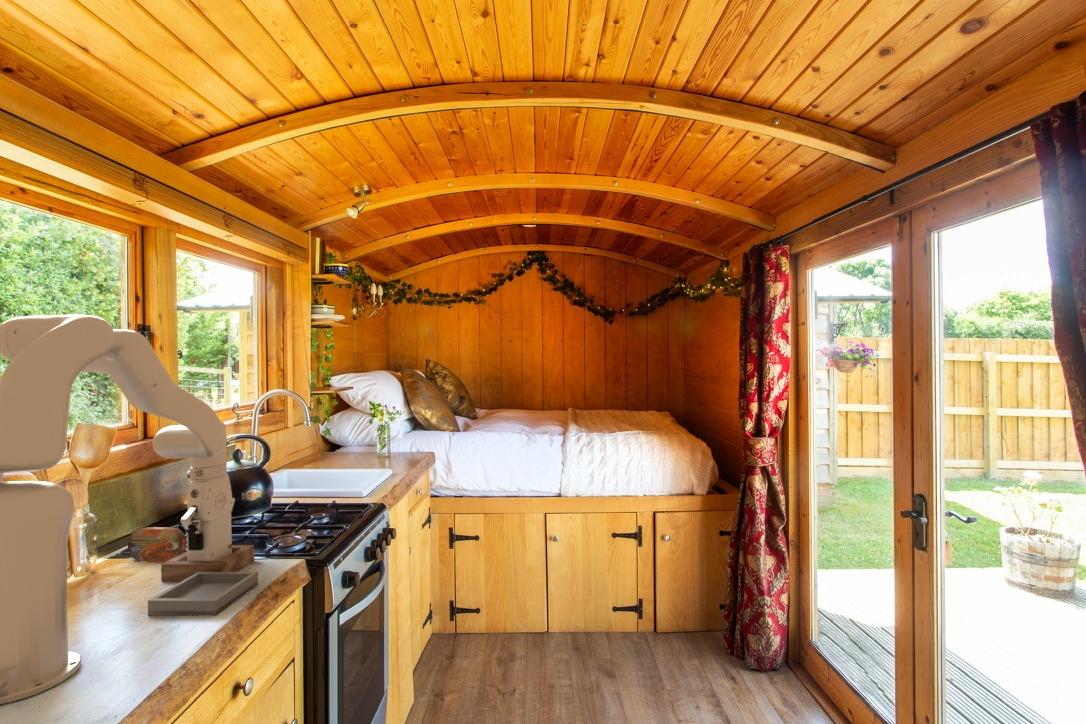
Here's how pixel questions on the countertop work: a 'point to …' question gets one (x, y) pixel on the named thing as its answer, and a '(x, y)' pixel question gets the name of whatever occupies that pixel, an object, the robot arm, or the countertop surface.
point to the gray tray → (202, 594)
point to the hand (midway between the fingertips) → (210, 542)
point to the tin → (156, 544)
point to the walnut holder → (207, 564)
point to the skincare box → (213, 540)
